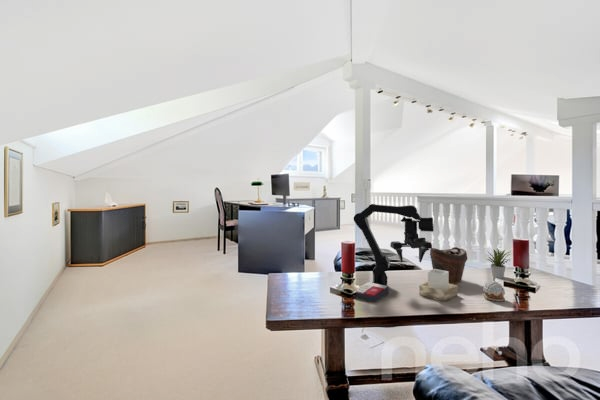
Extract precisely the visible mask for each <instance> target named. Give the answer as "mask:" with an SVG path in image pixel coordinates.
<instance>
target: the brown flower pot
mask: <svg viewBox="0 0 600 400" xmlns="http://www.w3.org/2000/svg"><path fill="white" fill-rule="evenodd" d="M429 251H430V252H429V256H430V260H431V261H430V262H431V267H432V270H433V269H438V270H443V271H448V272H449V284H459V283H461V282H462V279H463V275H464V270H465V266H466V262H467V261H468V253H467V251H466V250H465V249H464V248H461V247H460V248H459V247H451V248H450V249H439V248H435V247H432V248H429Z"/></svg>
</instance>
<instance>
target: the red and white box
mask: <svg viewBox="0 0 600 400" xmlns="http://www.w3.org/2000/svg"><path fill="white" fill-rule="evenodd" d="M357 288H358V289H357ZM357 288H356V289H357V290H356V289H355V290H356V295H357V296H355V295H353V294H352V296H353V297H352V298H354V299H358V300H363V301H368V302H371V303H377V302H378V301H379V300H381V299H383V298H384V297H385V296H387V295H389V291H390V289H389V286H388V285H387V286H385V285H380V284H375V283H372V282H370V281H367V282H365V283H364V284H362V285H361V286H359V287H357Z"/></svg>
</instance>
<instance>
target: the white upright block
mask: <svg viewBox="0 0 600 400" xmlns="http://www.w3.org/2000/svg"><path fill="white" fill-rule="evenodd" d="M427 282H428V287H431V288H435V289H439V290H443V291H446V290H448V289H449V284H450V283H449V272H448V271H443V270H438V269H433V268H432V269H431V270H428V272H427Z"/></svg>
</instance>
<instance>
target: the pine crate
mask: <svg viewBox="0 0 600 400" xmlns="http://www.w3.org/2000/svg"><path fill="white" fill-rule="evenodd" d="M418 292H419V293H418V294H419V296H424V297H427V298H430V299H434V300H437V301H441V302H448V301H449V300H451V299H453V298H455V297H457V296H458V284H457V285H456V284H453V283H449V289H448V290H446V291H443V290H439V289H435V288H431V287H428V281H426V282H424V283H421V284H419V291H418Z"/></svg>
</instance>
